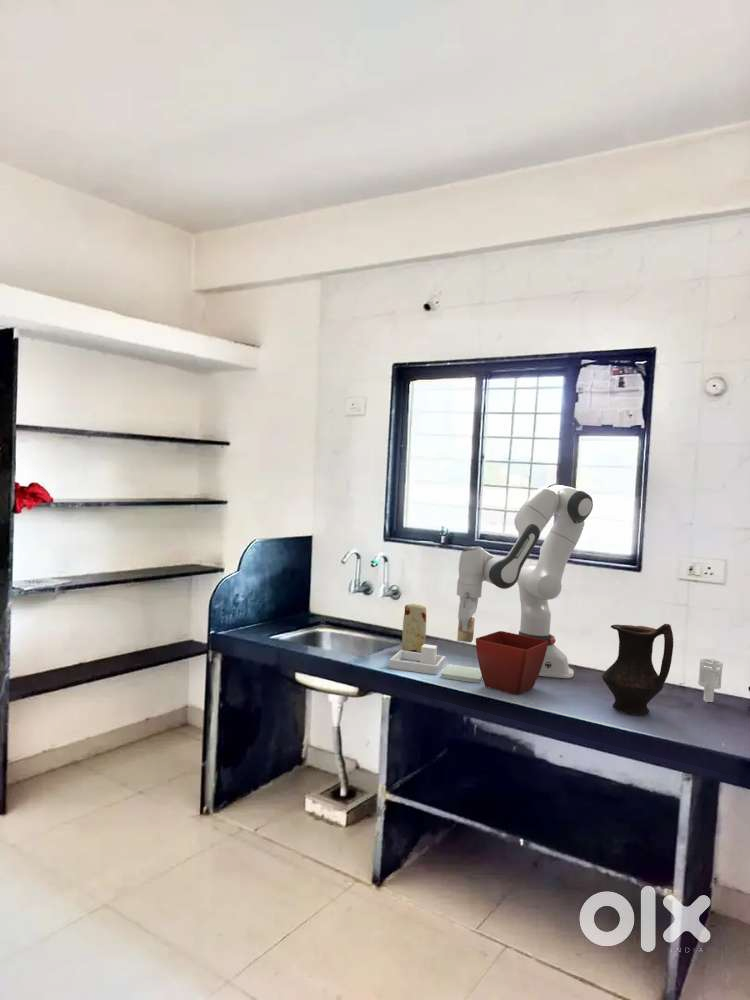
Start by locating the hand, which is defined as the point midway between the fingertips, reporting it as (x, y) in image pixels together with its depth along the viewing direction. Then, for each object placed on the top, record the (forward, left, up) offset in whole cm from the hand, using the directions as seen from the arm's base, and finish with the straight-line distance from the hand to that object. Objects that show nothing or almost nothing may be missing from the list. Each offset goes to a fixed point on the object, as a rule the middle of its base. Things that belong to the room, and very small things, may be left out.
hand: (466, 629), depth 249 cm
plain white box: (+14, -4, -17) cm, 22 cm away
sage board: (0, 0, -17) cm, 17 cm away
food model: (+24, -22, -17) cm, 37 cm away
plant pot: (-17, +7, -17) cm, 25 cm away
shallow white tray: (+18, -4, -17) cm, 25 cm away
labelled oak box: (0, 0, -4) cm, 4 cm away
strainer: (-83, -11, -17) cm, 86 cm away
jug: (-57, +14, -17) cm, 61 cm away
